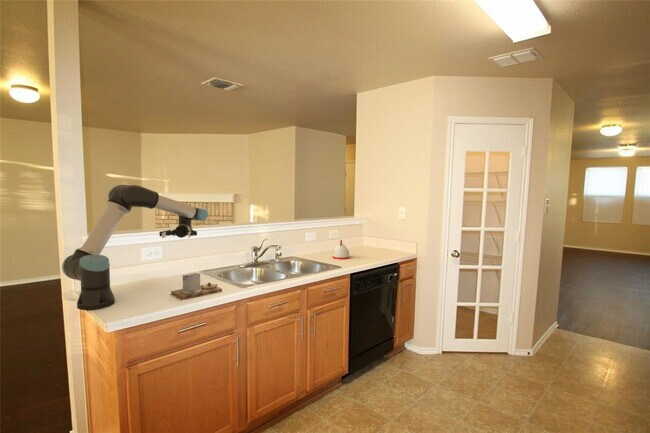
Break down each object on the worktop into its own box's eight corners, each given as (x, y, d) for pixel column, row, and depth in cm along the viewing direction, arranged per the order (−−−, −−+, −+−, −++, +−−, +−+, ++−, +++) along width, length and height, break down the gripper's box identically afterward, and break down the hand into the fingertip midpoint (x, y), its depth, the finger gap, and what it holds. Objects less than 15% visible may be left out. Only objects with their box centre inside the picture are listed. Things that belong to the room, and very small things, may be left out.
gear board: (182, 300, 175) (181, 292, 175) (171, 293, 185) (170, 286, 185) (222, 291, 191) (222, 284, 191) (210, 286, 201) (210, 279, 201)
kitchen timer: (349, 256, 295) (350, 239, 294) (348, 259, 281) (349, 241, 280) (333, 256, 297) (333, 238, 296) (331, 259, 283) (331, 240, 282)
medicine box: (195, 287, 190) (195, 272, 190) (200, 289, 188) (200, 273, 187) (182, 291, 184) (182, 275, 183) (187, 292, 181) (187, 276, 181)
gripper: (203, 236, 217) (199, 241, 197) (160, 237, 212) (151, 242, 191) (203, 224, 217) (199, 228, 196) (160, 225, 211) (151, 228, 191)
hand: (175, 235), depth 194 cm, fingers open, 13 cm apart
